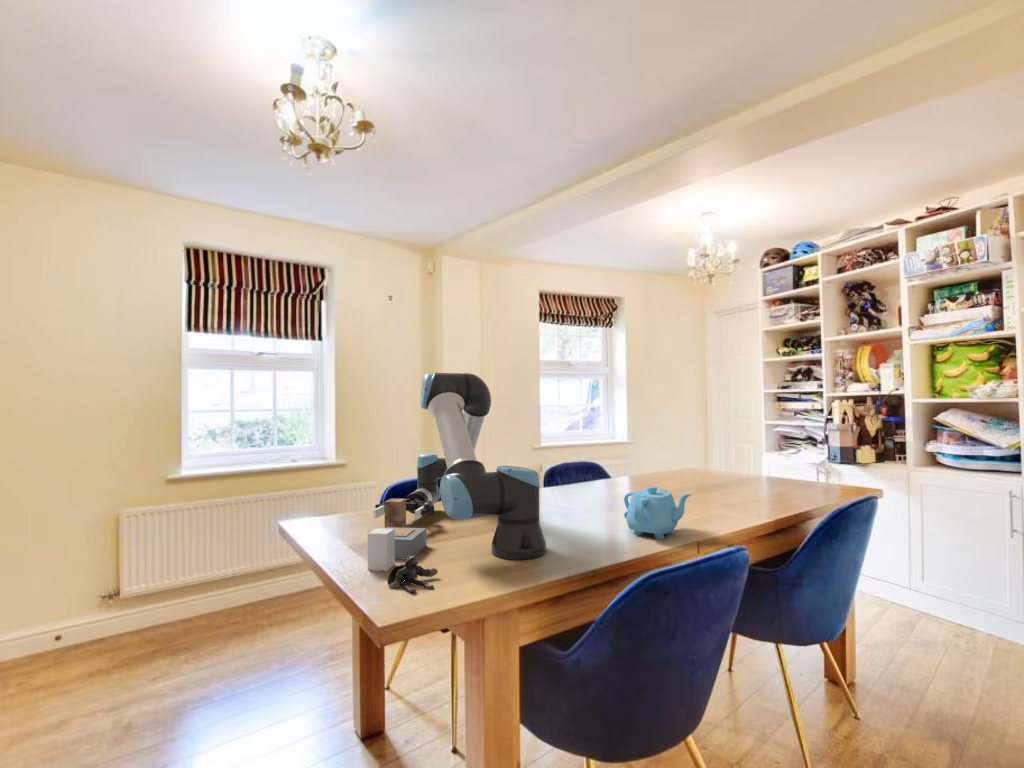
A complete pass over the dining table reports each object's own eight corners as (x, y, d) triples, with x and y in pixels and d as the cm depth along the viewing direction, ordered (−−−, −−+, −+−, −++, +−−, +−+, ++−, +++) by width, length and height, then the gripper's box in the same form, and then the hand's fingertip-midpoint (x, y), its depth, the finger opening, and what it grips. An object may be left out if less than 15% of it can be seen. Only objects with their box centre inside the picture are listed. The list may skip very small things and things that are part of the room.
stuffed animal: (395, 593, 105) (384, 549, 114) (390, 621, 110) (380, 577, 119) (448, 583, 111) (433, 541, 120) (440, 610, 116) (427, 568, 125)
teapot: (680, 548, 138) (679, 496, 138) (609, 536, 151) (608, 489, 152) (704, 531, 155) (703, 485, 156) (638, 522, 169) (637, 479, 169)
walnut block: (406, 533, 156) (405, 498, 157) (400, 538, 152) (400, 501, 152) (390, 533, 157) (390, 498, 158) (384, 537, 152) (384, 501, 153)
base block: (426, 545, 143) (426, 527, 143) (411, 558, 131) (411, 538, 131) (386, 544, 145) (386, 526, 145) (368, 557, 133) (368, 537, 133)
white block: (394, 564, 127) (394, 528, 128) (386, 570, 122) (386, 534, 123) (376, 563, 128) (376, 528, 128) (367, 569, 123) (367, 533, 123)
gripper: (452, 512, 174) (433, 527, 153) (385, 510, 178) (357, 525, 157) (452, 491, 175) (433, 503, 154) (385, 489, 178) (357, 501, 157)
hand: (395, 514), depth 155 cm, fingers open, 13 cm apart
